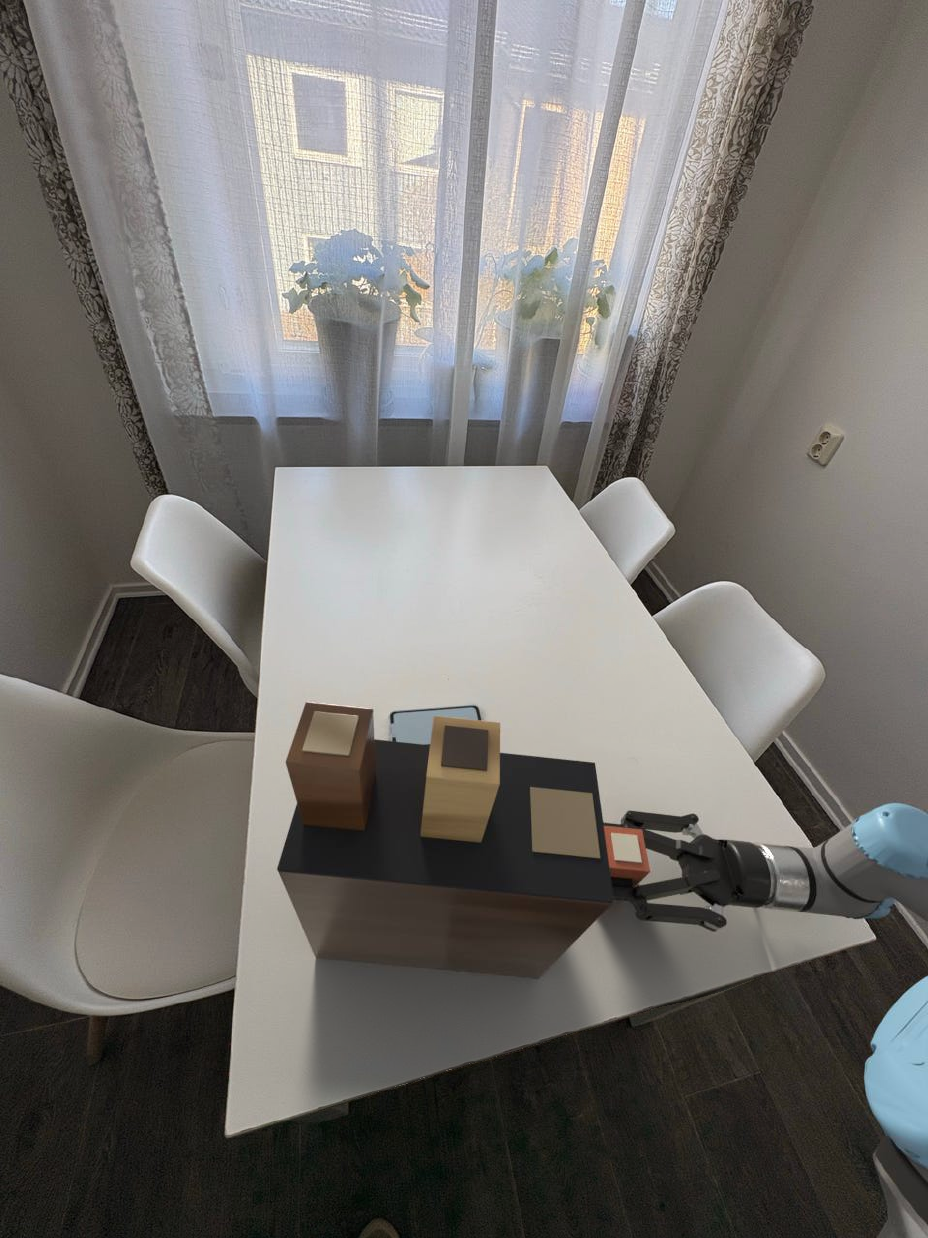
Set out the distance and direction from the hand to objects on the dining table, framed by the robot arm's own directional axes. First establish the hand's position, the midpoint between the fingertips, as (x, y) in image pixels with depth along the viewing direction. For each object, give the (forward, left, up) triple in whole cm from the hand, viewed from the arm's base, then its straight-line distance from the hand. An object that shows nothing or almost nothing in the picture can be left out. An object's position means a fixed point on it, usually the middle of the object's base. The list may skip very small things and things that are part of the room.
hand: (574, 856), depth 64 cm
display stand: (-6, +17, -6) cm, 19 cm away
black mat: (-6, +17, +22) cm, 28 cm away
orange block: (0, -5, -6) cm, 8 cm away
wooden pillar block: (-6, +17, +22) cm, 29 cm away
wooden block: (-6, +26, +22) cm, 35 cm away
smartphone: (+20, +19, -6) cm, 28 cm away
